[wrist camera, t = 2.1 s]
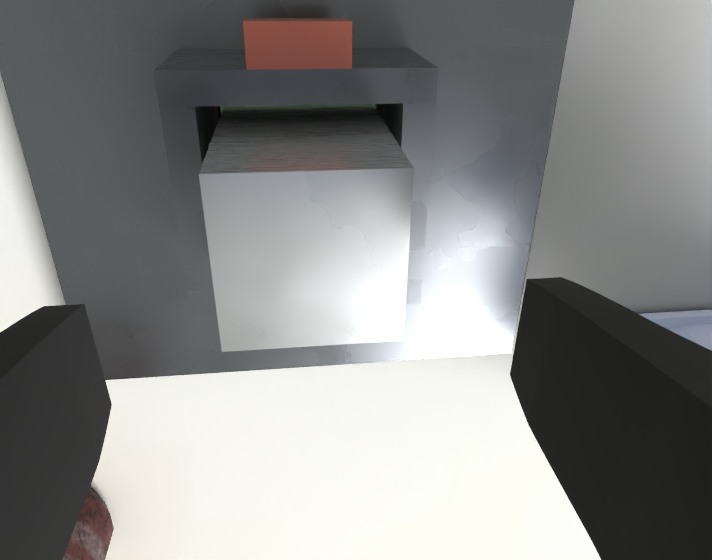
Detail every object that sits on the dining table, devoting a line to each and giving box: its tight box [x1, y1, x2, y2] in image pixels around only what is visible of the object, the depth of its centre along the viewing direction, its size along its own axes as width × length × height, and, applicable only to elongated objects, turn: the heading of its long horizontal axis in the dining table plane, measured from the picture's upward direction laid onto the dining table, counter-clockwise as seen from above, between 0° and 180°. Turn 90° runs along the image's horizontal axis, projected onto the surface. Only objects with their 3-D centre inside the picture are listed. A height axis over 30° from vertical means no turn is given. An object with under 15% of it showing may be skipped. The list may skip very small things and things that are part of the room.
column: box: [199, 104, 414, 352], centre depth 15 cm, size 4×4×8 cm
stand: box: [0, 0, 574, 380], centre depth 17 cm, size 16×16×4 cm
